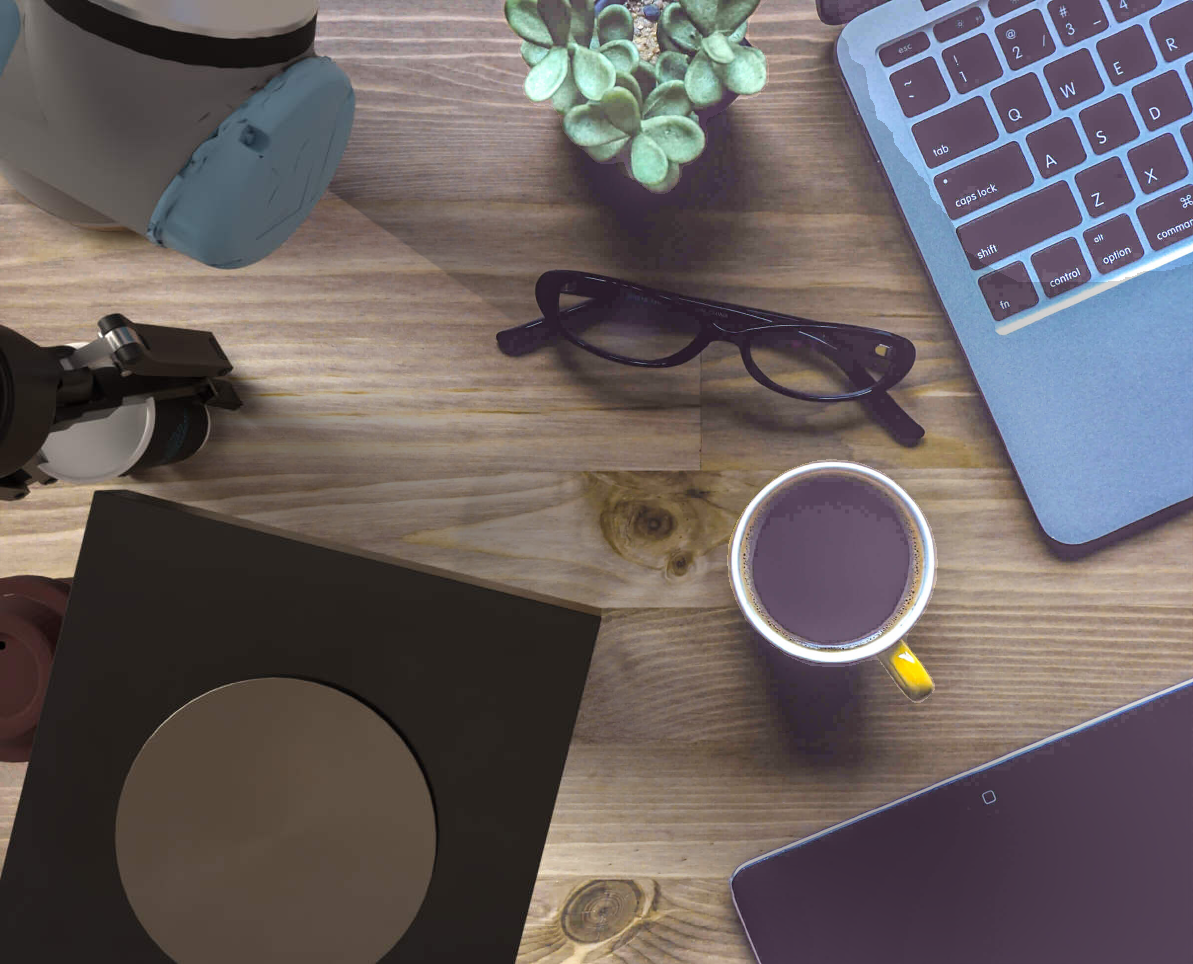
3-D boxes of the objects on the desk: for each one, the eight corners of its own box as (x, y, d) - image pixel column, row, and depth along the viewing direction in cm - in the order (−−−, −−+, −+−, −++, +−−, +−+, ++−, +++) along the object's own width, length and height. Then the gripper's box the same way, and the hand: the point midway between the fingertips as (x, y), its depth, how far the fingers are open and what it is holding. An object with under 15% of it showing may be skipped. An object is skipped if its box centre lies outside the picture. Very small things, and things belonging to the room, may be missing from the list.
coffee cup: (198, 713, 61) (67, 791, 46) (55, 684, 61) (-122, 752, 46) (226, 570, 61) (105, 602, 46) (84, 541, 61) (-85, 563, 46)
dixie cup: (108, 376, 61) (-1, 354, 50) (223, 356, 61) (139, 330, 50) (128, 491, 61) (24, 495, 50) (243, 471, 61) (164, 471, 50)
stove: (124, 488, 33) (66, 490, 29) (601, 608, 33) (602, 625, 29) (-4, 1015, 33) (-78, 1081, 29) (470, 1134, 33) (454, 1215, 29)
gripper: (-246, 597, 38) (71, 550, 61) (174, 343, 38) (334, 392, 60) (-339, 445, 38) (14, 455, 61) (81, 190, 38) (276, 296, 60)
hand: (174, 423), depth 60 cm, fingers open, 8 cm apart
